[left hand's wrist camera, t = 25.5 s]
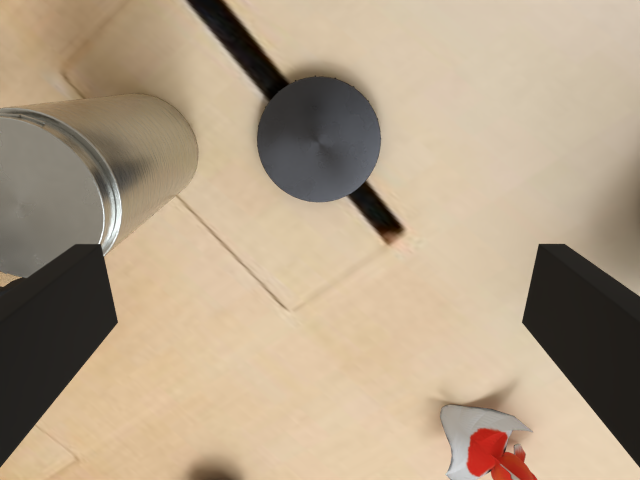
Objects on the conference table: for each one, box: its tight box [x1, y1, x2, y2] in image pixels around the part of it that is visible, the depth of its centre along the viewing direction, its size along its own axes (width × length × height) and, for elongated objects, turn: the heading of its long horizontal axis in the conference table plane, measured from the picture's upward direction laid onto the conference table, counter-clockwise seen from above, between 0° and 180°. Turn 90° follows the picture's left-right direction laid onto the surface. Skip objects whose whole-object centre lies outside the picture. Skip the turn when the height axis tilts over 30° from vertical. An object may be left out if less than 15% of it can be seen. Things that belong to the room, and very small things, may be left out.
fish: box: [440, 405, 537, 480], centre depth 49 cm, size 11×16×10 cm
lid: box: [257, 76, 381, 202], centre depth 39 cm, size 11×11×2 cm
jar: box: [0, 94, 198, 278], centre depth 31 cm, size 10×10×18 cm
